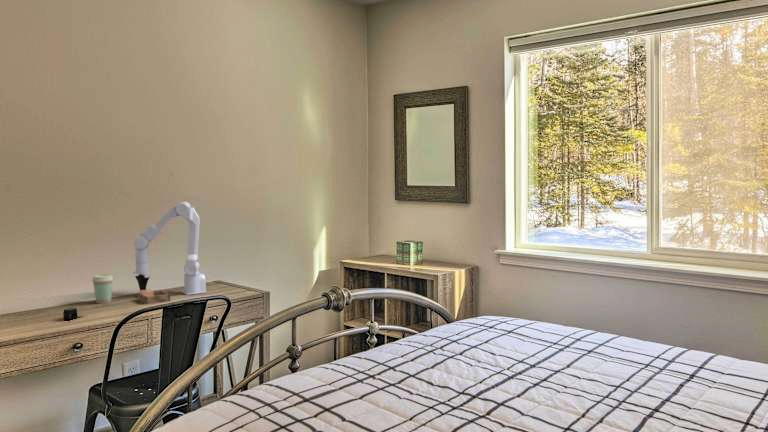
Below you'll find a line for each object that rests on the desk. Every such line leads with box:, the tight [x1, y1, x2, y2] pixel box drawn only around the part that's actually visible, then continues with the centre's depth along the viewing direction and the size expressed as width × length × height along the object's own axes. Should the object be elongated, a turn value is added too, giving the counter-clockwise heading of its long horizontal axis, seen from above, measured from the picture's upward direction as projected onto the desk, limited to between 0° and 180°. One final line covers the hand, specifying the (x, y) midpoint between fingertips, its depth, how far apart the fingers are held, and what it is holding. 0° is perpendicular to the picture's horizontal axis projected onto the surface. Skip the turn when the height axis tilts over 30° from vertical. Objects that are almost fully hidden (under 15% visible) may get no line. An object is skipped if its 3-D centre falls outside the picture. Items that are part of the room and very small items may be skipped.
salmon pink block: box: [138, 288, 155, 297], centre depth 279 cm, size 5×6×3 cm
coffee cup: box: [91, 273, 114, 305], centre depth 266 cm, size 9×8×12 cm
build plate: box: [57, 307, 85, 322], centre depth 237 cm, size 12×7×5 cm, turn 166°
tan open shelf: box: [137, 290, 171, 305], centre depth 271 cm, size 11×11×3 cm
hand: (142, 290), depth 283 cm, fingers closed
